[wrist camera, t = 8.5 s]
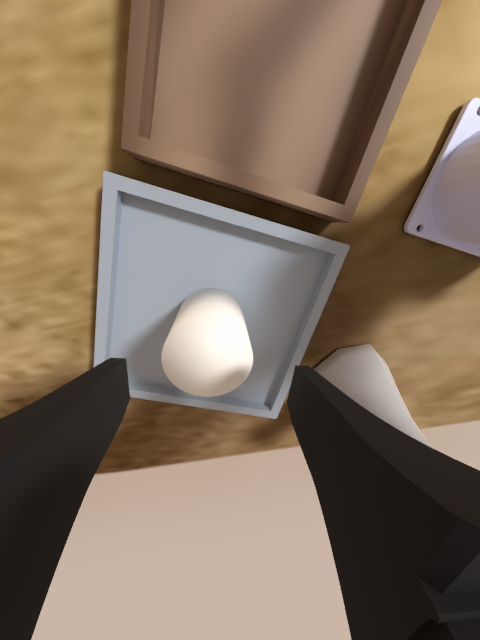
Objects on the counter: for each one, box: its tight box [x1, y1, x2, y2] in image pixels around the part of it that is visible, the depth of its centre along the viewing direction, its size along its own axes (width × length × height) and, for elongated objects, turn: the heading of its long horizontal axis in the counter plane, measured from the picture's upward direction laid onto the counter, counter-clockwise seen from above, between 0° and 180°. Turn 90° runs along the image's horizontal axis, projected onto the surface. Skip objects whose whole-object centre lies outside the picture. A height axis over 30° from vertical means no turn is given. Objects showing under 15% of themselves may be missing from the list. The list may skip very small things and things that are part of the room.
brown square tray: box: [121, 0, 442, 223], centre depth 12 cm, size 14×14×2 cm
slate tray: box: [94, 170, 350, 419], centre depth 18 cm, size 16×16×2 cm
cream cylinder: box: [161, 288, 253, 397], centre depth 16 cm, size 5×5×6 cm
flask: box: [314, 344, 434, 449], centre depth 18 cm, size 7×7×10 cm
